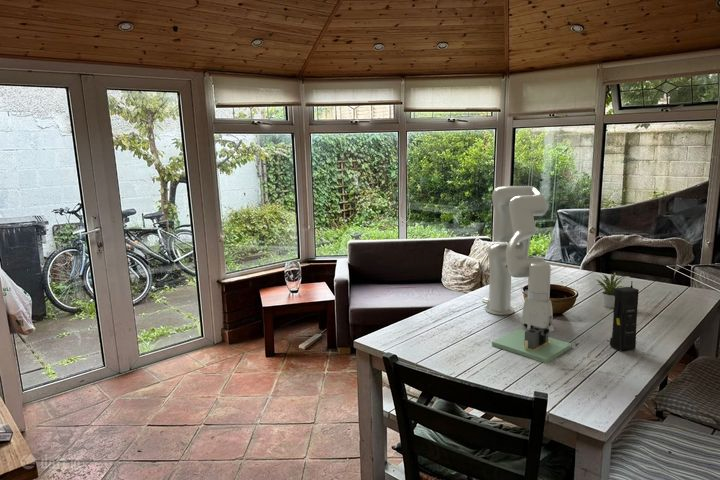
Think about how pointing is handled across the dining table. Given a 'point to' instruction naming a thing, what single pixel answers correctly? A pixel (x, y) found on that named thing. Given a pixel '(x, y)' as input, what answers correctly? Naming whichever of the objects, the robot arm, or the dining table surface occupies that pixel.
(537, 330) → the block
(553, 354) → the header board
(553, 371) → the dining table surface
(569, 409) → the dining table surface
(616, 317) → the portable radio
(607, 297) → the house plant
